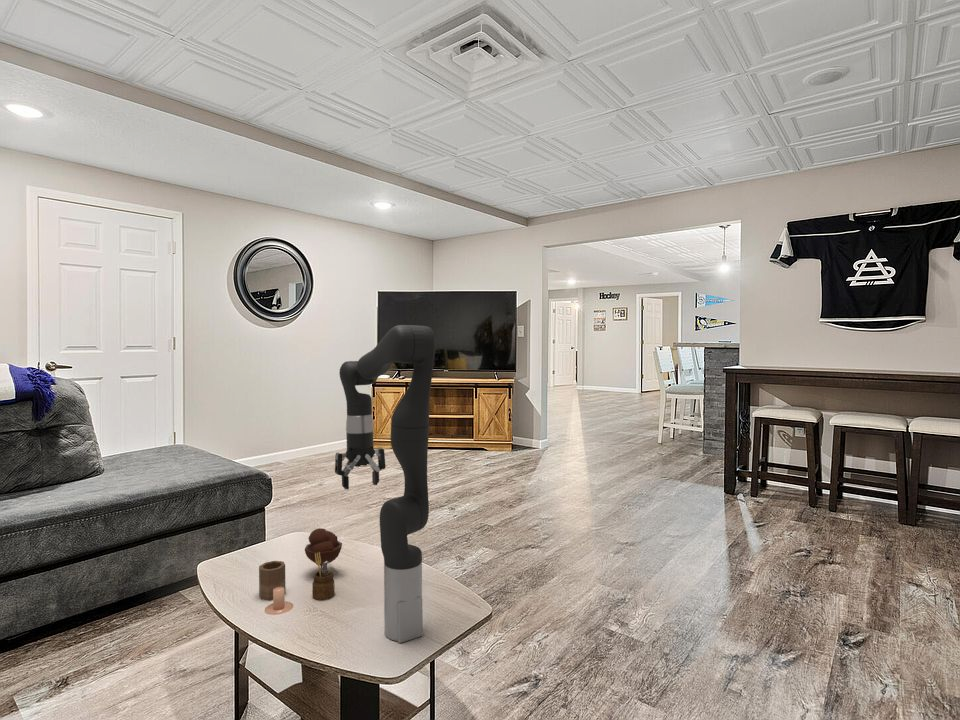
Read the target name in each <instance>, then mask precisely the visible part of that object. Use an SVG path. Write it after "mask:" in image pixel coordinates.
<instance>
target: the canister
mask: <svg viewBox="0 0 960 720" xmlns="http://www.w3.org/2000/svg"><path fill="white" fill-rule="evenodd" d="M276 587H284V595H286V563H285V562H284V561H281V560H272V561H266V562H264V563H262V564H260V565H259V566H258V592H259V593H258V596H259V598H260V600H263V601H273V589H274V588H276Z"/></svg>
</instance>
